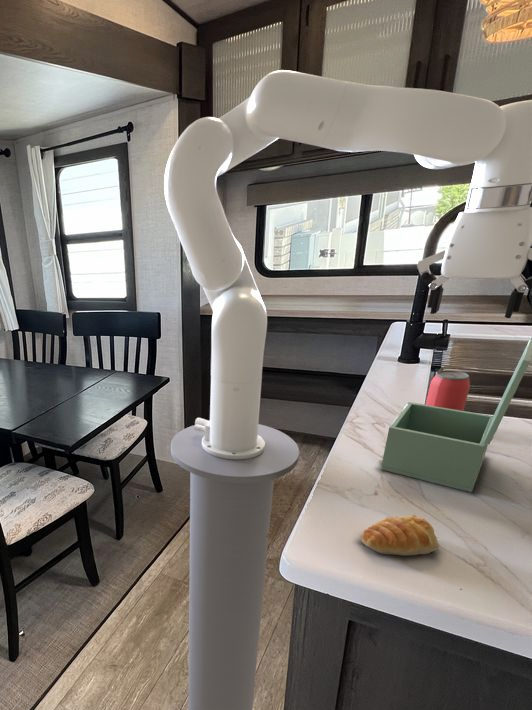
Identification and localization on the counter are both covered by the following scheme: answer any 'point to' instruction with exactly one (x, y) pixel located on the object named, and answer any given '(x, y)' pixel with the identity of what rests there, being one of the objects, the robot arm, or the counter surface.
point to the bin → (437, 445)
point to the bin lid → (510, 391)
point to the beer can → (449, 390)
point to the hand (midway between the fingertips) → (469, 314)
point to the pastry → (401, 536)
